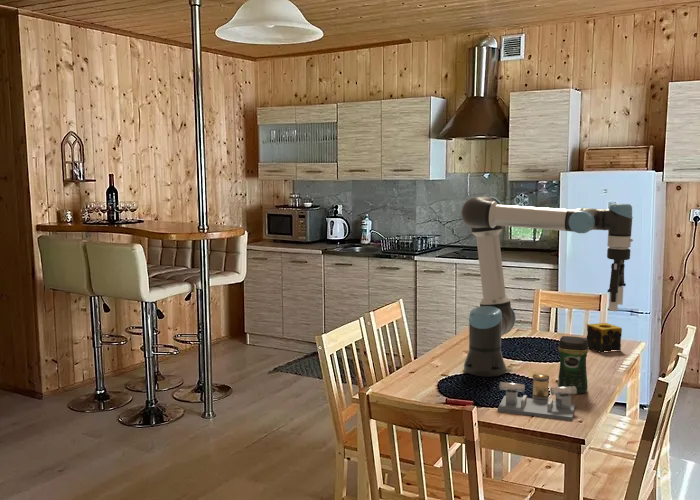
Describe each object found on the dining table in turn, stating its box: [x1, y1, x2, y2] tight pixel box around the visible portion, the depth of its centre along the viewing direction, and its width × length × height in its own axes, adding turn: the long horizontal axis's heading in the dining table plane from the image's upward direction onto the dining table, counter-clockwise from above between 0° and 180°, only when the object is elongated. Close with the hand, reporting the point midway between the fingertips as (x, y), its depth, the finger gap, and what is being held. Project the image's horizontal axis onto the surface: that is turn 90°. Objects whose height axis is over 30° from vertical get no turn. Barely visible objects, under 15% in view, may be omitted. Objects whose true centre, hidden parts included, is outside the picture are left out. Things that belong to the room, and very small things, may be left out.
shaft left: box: [498, 381, 526, 405], centre depth 217 cm, size 8×4×6 cm, turn 68°
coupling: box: [532, 372, 550, 400], centre depth 223 cm, size 5×5×8 cm
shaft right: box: [550, 386, 578, 409], centre depth 213 cm, size 8×4×6 cm, turn 98°
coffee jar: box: [557, 335, 589, 394], centre depth 231 cm, size 10×8×19 cm
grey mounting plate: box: [497, 394, 576, 421], centre depth 214 cm, size 22×13×3 cm, turn 68°
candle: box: [586, 322, 623, 353], centre depth 285 cm, size 10×10×10 cm
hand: (615, 307), depth 242 cm, fingers open, 13 cm apart
